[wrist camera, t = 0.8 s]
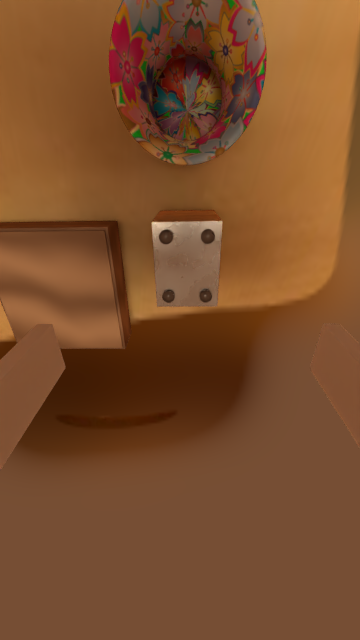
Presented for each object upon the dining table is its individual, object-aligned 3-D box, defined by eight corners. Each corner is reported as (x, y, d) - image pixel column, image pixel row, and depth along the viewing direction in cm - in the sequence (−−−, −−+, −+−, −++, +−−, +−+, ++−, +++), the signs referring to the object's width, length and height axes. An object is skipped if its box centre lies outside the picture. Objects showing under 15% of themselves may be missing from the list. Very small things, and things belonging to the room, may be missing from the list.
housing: (160, 210, 29) (150, 222, 21) (214, 209, 29) (222, 221, 21) (163, 278, 33) (156, 308, 25) (210, 278, 33) (217, 308, 25)
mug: (234, 165, 26) (259, 159, 17) (145, 171, 27) (122, 169, 18) (240, -9, 21) (283, -160, 11) (126, 3, 21) (78, -132, 12)
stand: (-3, 222, 30) (-30, 229, 26) (117, 220, 29) (106, 227, 26) (35, 332, 37) (18, 349, 33) (131, 332, 37) (125, 349, 33)
